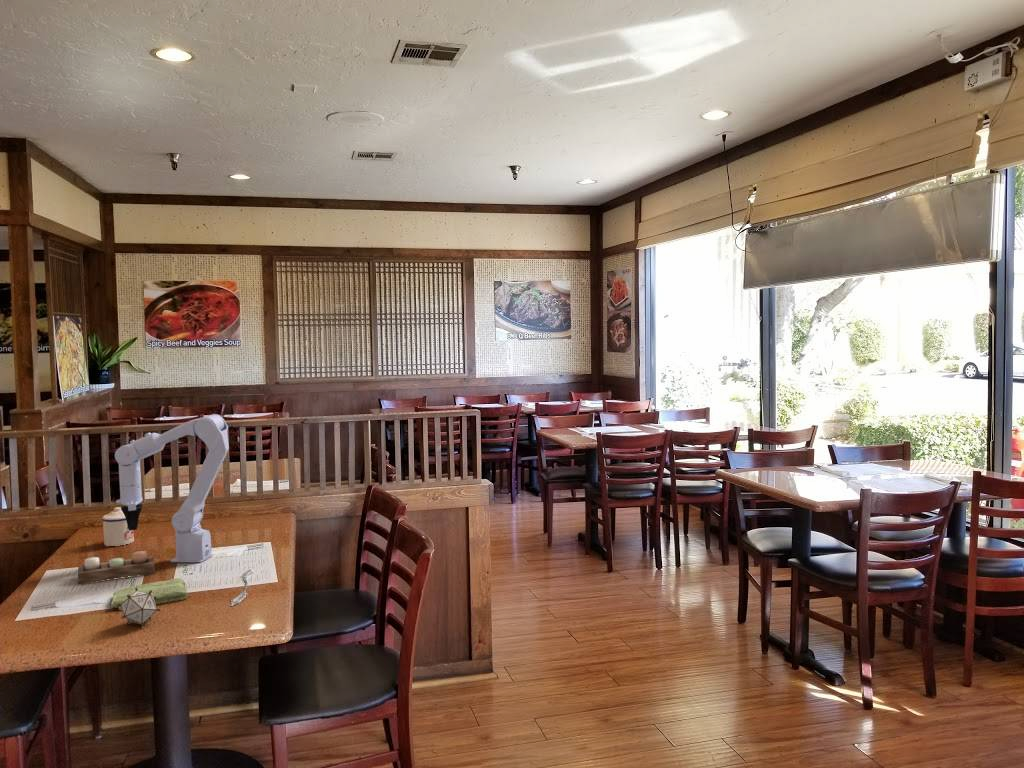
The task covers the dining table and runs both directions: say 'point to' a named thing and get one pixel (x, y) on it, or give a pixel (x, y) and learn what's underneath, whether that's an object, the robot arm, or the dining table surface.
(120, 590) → the washcloth
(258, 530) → the dining table surface
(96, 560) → the cream button
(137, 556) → the terracotta button
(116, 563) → the sage button
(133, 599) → the game die
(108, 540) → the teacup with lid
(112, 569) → the button panel
